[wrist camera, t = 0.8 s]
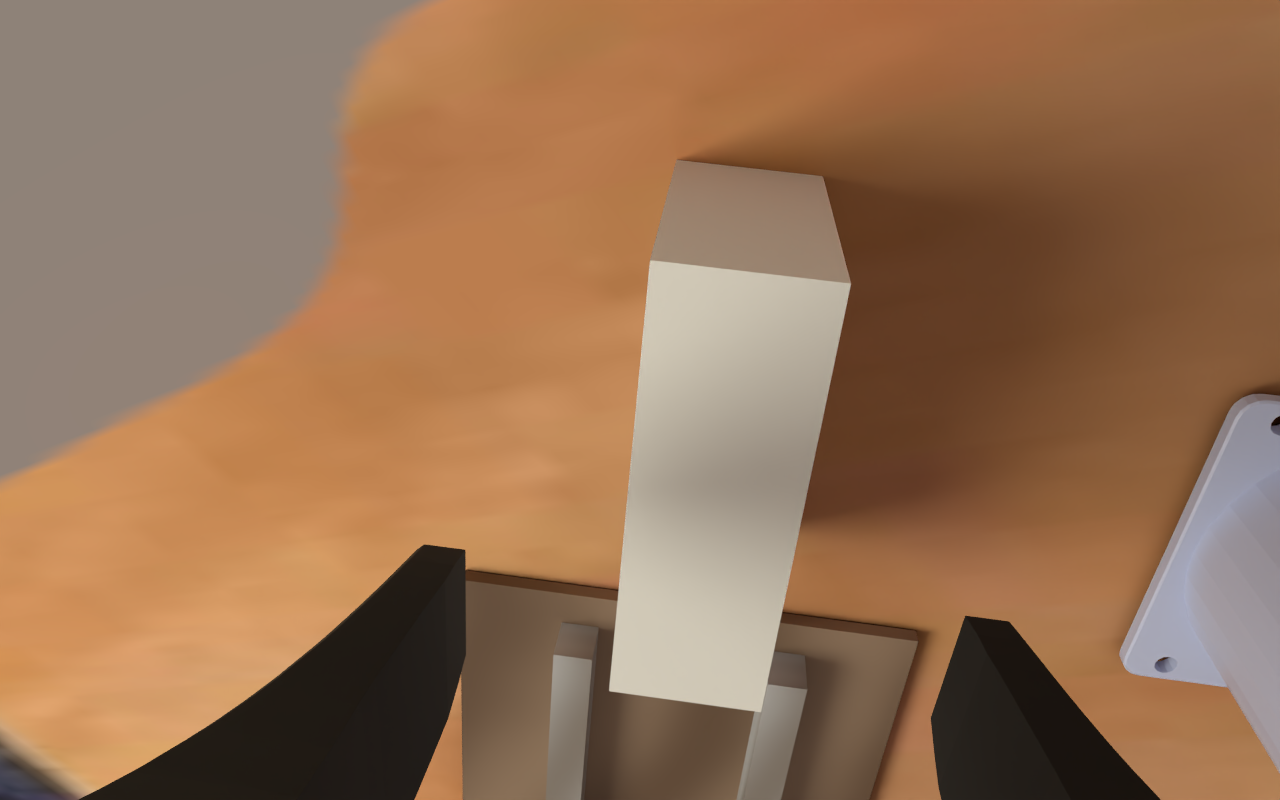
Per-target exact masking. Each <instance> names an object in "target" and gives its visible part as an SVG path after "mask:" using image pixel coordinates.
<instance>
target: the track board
mask: <svg viewBox="0 0 1280 800" xmlns="http://www.w3.org/2000/svg"><path fill="white" fill-rule="evenodd" d="M465 577H466V657H465V660H464V664H463V668H462V671H461V683H462V766H463V800H869V799H870V796H871V793H872V789H873V786H874V783H875V780H876V776H877V773H878V770H879V767H880V764H881V760H882V757H883V754H884V751H885V747H886V744H887V741H888V738H889V735H890V731H891V728H892V725H893V722H894V718H895V715H896V712H897V709H898V706H899V702H900V699H901V696H902V693H903V690H904V686H905V683H906V680H907V677H908V673H909V670H910V667H911V664H912V661H913V657H914V654H915V651H916V648H917V644H918V638H917V633H916V631H914V630H907V629H899V628H892V627H884V626H877V625H869V624H862V623H855V622H847V621H840V620H832V619H825V618H817V617H810V616H802V615H795V614H788V613H782V615H781V620H780V624H779V629H778V634H777V639H776V643H775V648H774V653H773V658H772V662H771V667H770V672H769V677H768V681H767V686H766V691H765V696H764V700H763V705H762V710H761V712H755V711H748V710H741V709H733V708H726V707H719V706H712V705H705V704H698V703H690V702H683V701H676V700H669V699H662V698H654V697H647V696H640V695H633V694H626V693H619V692H611V691H609V685H610V675H611V665H612V654H613V644H614V633H615V623H616V612H617V602H618V591H616V590H609V589H601V588H594V587H586V586H579V585H572V584H564V583H557V582H549V581H542V580H534V579H527V578H519V577H512V576H505V575H497V574H490V573H482V572H475V571H467V570H465Z"/></svg>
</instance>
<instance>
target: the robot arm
mask: <svg viewBox="0 0 1280 800" xmlns="http://www.w3.org/2000/svg"><path fill="white" fill-rule="evenodd" d="M1279 416H1280V396H1277V395H1269V394H1251V395H1248V396H1246V397H1243V398H1241V399H1240V400H1238V401H1237V402H1236V403H1234V405H1233V406H1232V407H1231V409H1230V410H1229V412H1228V414H1227V416H1226V419H1225V421H1224V423H1223V425H1222V427H1221V430H1220V432H1219V434H1218V436H1217V438H1216V441H1215V443H1214V445H1213V447H1212V449H1211V451H1210V454H1209V456H1208V458H1207V460H1206V462H1205V465H1204V467H1203V469H1202V471H1201V473H1200V476H1199V478H1198V480H1197V482H1196V484H1195V487H1194V489H1193V491H1192V493H1191V495H1190V498H1189V500H1188V502H1187V504H1186V506H1185V509H1184V511H1183V513H1182V515H1181V517H1180V520H1179V522H1178V524H1177V526H1176V528H1175V531H1174V533H1173V535H1172V537H1171V539H1170V542H1169V544H1168V546H1167V548H1166V550H1165V552H1164V555H1163V557H1162V559H1161V561H1160V563H1159V566H1158V568H1157V570H1156V572H1155V574H1154V577H1153V579H1152V581H1151V583H1150V585H1149V588H1148V590H1147V592H1146V594H1145V596H1144V599H1143V601H1142V603H1141V605H1140V607H1139V610H1138V612H1137V614H1136V616H1135V618H1134V621H1133V623H1132V625H1131V627H1130V629H1129V632H1128V634H1127V636H1126V638H1125V640H1124V642H1123V645H1122V647H1121V649H1120V654H1119V656H1120V658H1121V661H1122V663H1123V665H1124V667H1125V669H1126V670H1127V671H1129V672H1130V673H1132V674H1136V675H1140V676H1147V677H1155V678H1162V679H1170V680H1177V681H1184V682H1192V683H1199V684H1207V685H1214V686H1222V687H1228V688H1229V690H1230V692H1231V693H1232V695H1233V697H1234V698H1235V700H1236V702H1237V703H1238V705H1239V707H1240V708H1241V710H1242V712H1243V713H1244V715H1245V717H1246V718H1247V720H1248V721H1249V723H1250V725H1251V726H1252V728H1253V730H1254V731H1255V733H1256V735H1257V736H1258V738H1259V740H1260V741H1261V743H1262V745H1263V746H1264V748H1265V750H1266V751H1267V753H1268V755H1269V756H1270V758H1271V760H1272V761H1273V763H1274V765H1275V766H1276V768H1277V770H1278V771H1279V773H1280V424H1279V425H1277V426H1271V423H1272V422H1273V421H1274V419H1275V418H1277V417H1279ZM465 657H466V577H465V550H462V549H454V548H447V547H439V546H432V545H423V546H422V547H420V548H419V549H417V550H416V551H415V552H414V553H413V554H412V555H411V556H410V557H409V558H408V559H407V560H406V561H405V562H404V563H403V564H402V565H401V566H400V567H399V568H398V569H397V570H396V571H395V572H394V573H393V574H392V575H391V576H390V577H389V578H388V579H387V580H386V581H385V582H384V583H383V584H382V585H381V586H380V587H379V588H378V589H377V590H376V591H375V592H374V593H373V594H372V595H371V596H370V597H369V598H368V599H366V600H365V601H364V602H363V603H362V604H361V605H360V606H359V607H358V608H357V609H356V610H355V611H353V612H352V613H351V614H350V615H349V616H348V617H347V618H346V619H345V620H344V621H342V622H341V623H340V624H339V625H338V626H337V627H336V628H335V629H334V630H333V631H331V632H330V633H329V634H328V635H327V636H326V637H325V638H323V639H322V640H321V641H320V642H319V643H318V644H316V645H315V646H314V647H313V648H312V649H310V650H309V651H308V652H307V653H305V654H304V655H303V656H302V657H301V658H299V659H298V660H297V661H296V662H294V663H293V664H292V665H291V666H290V667H288V668H287V669H286V670H285V671H283V672H282V673H281V674H280V675H279V676H277V677H276V678H275V679H273V680H272V681H271V682H269V683H268V684H267V685H265V686H264V687H263V688H261V689H260V690H259V691H257V692H256V693H255V694H253V695H252V696H251V697H249V698H248V699H247V700H245V701H244V702H242V703H241V704H240V705H238V706H237V707H235V708H234V709H232V710H231V711H229V712H228V713H227V714H225V715H224V716H222V717H221V718H219V719H218V720H216V721H215V722H213V723H212V724H210V725H209V726H207V727H206V728H204V729H202V730H201V731H199V732H198V733H196V734H195V735H193V736H191V737H190V738H188V739H187V740H185V741H183V742H182V743H180V744H178V745H177V746H175V747H173V748H172V749H170V750H168V751H167V752H165V753H163V754H162V755H160V756H158V757H157V758H155V759H153V760H152V761H150V762H148V763H147V764H145V765H143V766H142V767H140V768H138V769H136V770H134V771H133V772H131V773H129V774H127V775H125V776H123V777H121V778H119V779H118V780H116V781H114V782H112V783H110V784H108V785H106V786H104V787H103V788H101V789H99V790H97V791H95V792H93V793H91V794H89V795H87V796H85V797H83V798H81V799H79V800H414V799H415V797H416V794H417V792H418V790H419V787H420V785H421V782H422V780H423V778H424V775H425V773H426V771H427V768H428V766H429V763H430V761H431V759H432V756H433V754H434V751H435V749H436V746H437V744H438V742H439V739H440V737H441V734H442V732H443V729H444V727H445V724H446V722H447V720H448V717H449V713H450V710H451V706H452V703H453V700H454V696H455V693H456V689H457V686H458V682H459V678H460V675H461V671H462V668H463V664H464V660H465ZM1163 657H1168V658H1167V659H1165V660H1163V661H1158V660H1159V659H1161V658H1163ZM931 724H932V734H933V743H934V753H935V762H936V769H937V777H938V785H939V790H940V795H941V799H942V800H1160V798H1159V797H1158V796H1157V795H1156V794H1155V793H1154V792H1153V791H1152V790H1151V789H1150V788H1149V787H1148V786H1147V785H1146V784H1145V783H1144V781H1143V780H1142V779H1141V778H1140V777H1139V776H1138V775H1137V774H1136V773H1135V772H1134V771H1133V770H1132V769H1131V768H1130V766H1129V765H1128V764H1127V763H1126V762H1125V761H1124V760H1123V759H1122V758H1121V756H1120V755H1119V754H1118V753H1117V752H1116V751H1115V750H1114V749H1113V747H1112V746H1111V745H1110V744H1109V743H1108V742H1107V741H1106V739H1105V738H1104V737H1103V736H1102V735H1101V734H1100V732H1099V731H1098V730H1097V729H1096V728H1095V727H1094V725H1093V724H1092V723H1091V722H1090V721H1089V719H1088V718H1087V717H1086V716H1085V715H1084V714H1083V712H1082V711H1081V710H1080V709H1079V707H1078V706H1077V705H1076V704H1075V703H1074V701H1073V700H1072V699H1071V698H1070V697H1069V695H1068V694H1067V693H1066V692H1065V690H1064V689H1063V688H1062V687H1061V685H1060V684H1059V683H1058V682H1057V680H1056V679H1055V678H1054V677H1053V676H1052V674H1051V673H1050V672H1049V671H1048V669H1047V668H1046V667H1045V666H1044V664H1043V663H1042V662H1041V661H1040V659H1039V658H1038V657H1037V655H1036V654H1035V653H1034V652H1033V650H1032V649H1031V648H1030V647H1029V645H1028V644H1027V643H1026V642H1025V640H1024V639H1023V638H1022V637H1021V635H1020V634H1019V633H1018V632H1017V631H1016V629H1015V628H1014V627H1013V626H1012V625H1011V623H1010V622H1008V621H1001V620H993V619H986V618H978V617H970V616H965V619H964V621H963V624H962V627H961V630H960V633H959V636H958V639H957V642H956V645H955V648H954V651H953V654H952V657H951V660H950V663H949V666H948V669H947V672H946V675H945V678H944V681H943V684H942V687H941V690H940V693H939V695H938V698H937V701H936V704H935V707H934V710H933V713H932V716H931Z"/></svg>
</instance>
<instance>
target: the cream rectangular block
mask: <svg viewBox="0 0 1280 800" xmlns="http://www.w3.org/2000/svg"><path fill="white" fill-rule="evenodd" d="M850 287H851V281H850V278H849V274H848V270H847V266H846V262H845V259H844V255H843V251H842V247H841V243H840V239H839V236H838V232H837V228H836V224H835V220H834V217H833V213H832V209H831V205H830V201H829V198H828V194H827V190H826V186H825V182H824V179H823V176H817V175H808V174H799V173H790V172H781V171H772V170H763V169H754V168H745V167H736V166H727V165H718V164H709V163H700V162H691V161H682V160H676V164H675V167H674V171H673V175H672V179H671V183H670V186H669V190H668V194H667V198H666V202H665V206H664V209H663V213H662V217H661V221H660V225H659V228H658V232H657V236H656V240H655V244H654V247H653V251H652V255H651V259H650V267H649V277H648V288H647V298H646V309H645V319H644V330H643V340H642V351H641V361H640V372H639V382H638V393H637V403H636V413H635V424H634V434H633V445H632V455H631V466H630V476H629V487H628V497H627V508H626V518H625V529H624V539H623V549H622V560H621V570H620V581H619V591H618V602H617V612H616V623H615V633H614V644H613V654H612V665H611V675H610V685H609V691H611V692H619V693H626V694H633V695H640V696H647V697H654V698H662V699H669V700H676V701H683V702H690V703H698V704H705V705H712V706H719V707H726V708H733V709H741V710H748V711H755V712H761V710H762V705H763V700H764V696H765V691H766V686H767V681H768V677H769V672H770V667H771V662H772V658H773V653H774V648H775V643H776V639H777V634H778V629H779V624H780V620H781V615H782V610H783V605H784V601H785V596H786V591H787V586H788V582H789V577H790V572H791V567H792V562H793V558H794V553H795V548H796V543H797V539H798V534H799V529H800V524H801V520H802V515H803V510H804V505H805V501H806V496H807V491H808V486H809V482H810V477H811V472H812V467H813V463H814V458H815V453H816V448H817V444H818V439H819V434H820V429H821V425H822V420H823V415H824V410H825V406H826V401H827V396H828V391H829V386H830V382H831V377H832V372H833V367H834V363H835V358H836V353H837V348H838V344H839V339H840V334H841V329H842V325H843V320H844V315H845V310H846V306H847V301H848V296H849V291H850Z"/></svg>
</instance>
